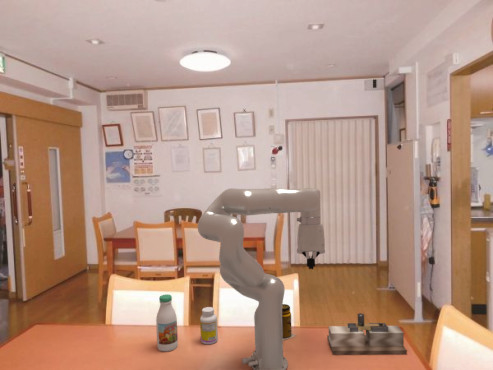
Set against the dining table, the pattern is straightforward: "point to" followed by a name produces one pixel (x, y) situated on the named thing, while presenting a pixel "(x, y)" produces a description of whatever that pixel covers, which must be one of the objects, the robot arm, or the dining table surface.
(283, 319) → the condiment
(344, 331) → the grey brown double block
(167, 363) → the dining table surface
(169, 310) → the milk bottle
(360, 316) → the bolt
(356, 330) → the lock hardware
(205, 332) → the supplement bottle
